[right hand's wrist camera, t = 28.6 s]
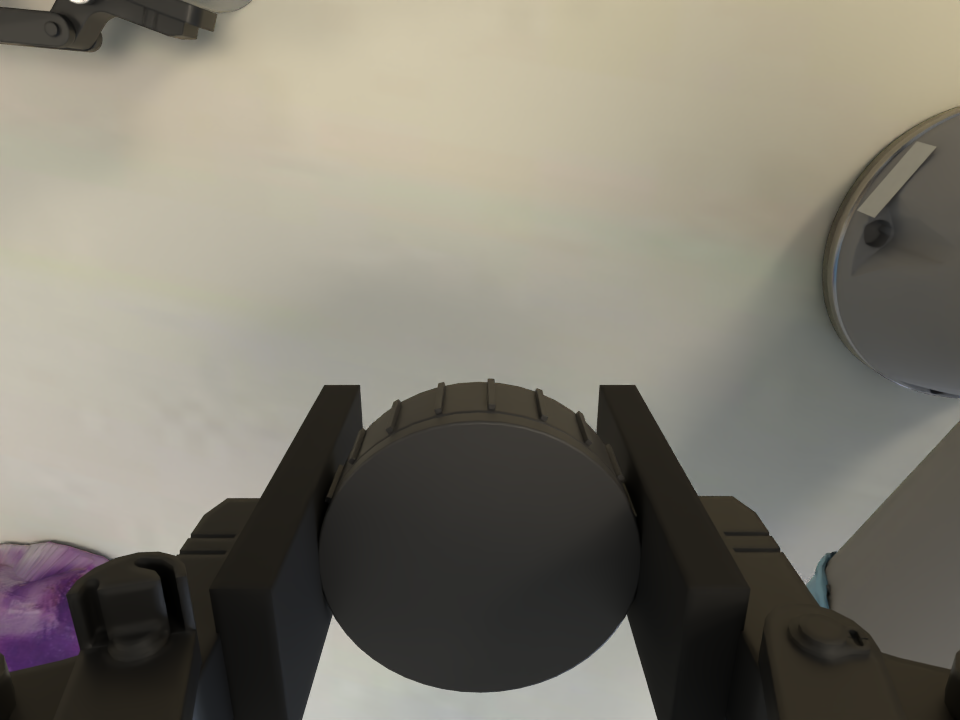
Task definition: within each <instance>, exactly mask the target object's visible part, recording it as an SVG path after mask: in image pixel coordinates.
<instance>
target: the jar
mask: <svg viewBox="0 0 960 720" xmlns="http://www.w3.org/2000/svg"><path fill="white" fill-rule="evenodd" d="M182 1H184V2H187V3H190V4H192V5H195V6H197V7H200V8H203V9H205V10H209V11H212V12H219V13H225V12H232V11H235V10H238V9H240V8H242V7H244V6H245V5H247V4H248V3H249V2H250V1H251V0H182Z"/></svg>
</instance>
